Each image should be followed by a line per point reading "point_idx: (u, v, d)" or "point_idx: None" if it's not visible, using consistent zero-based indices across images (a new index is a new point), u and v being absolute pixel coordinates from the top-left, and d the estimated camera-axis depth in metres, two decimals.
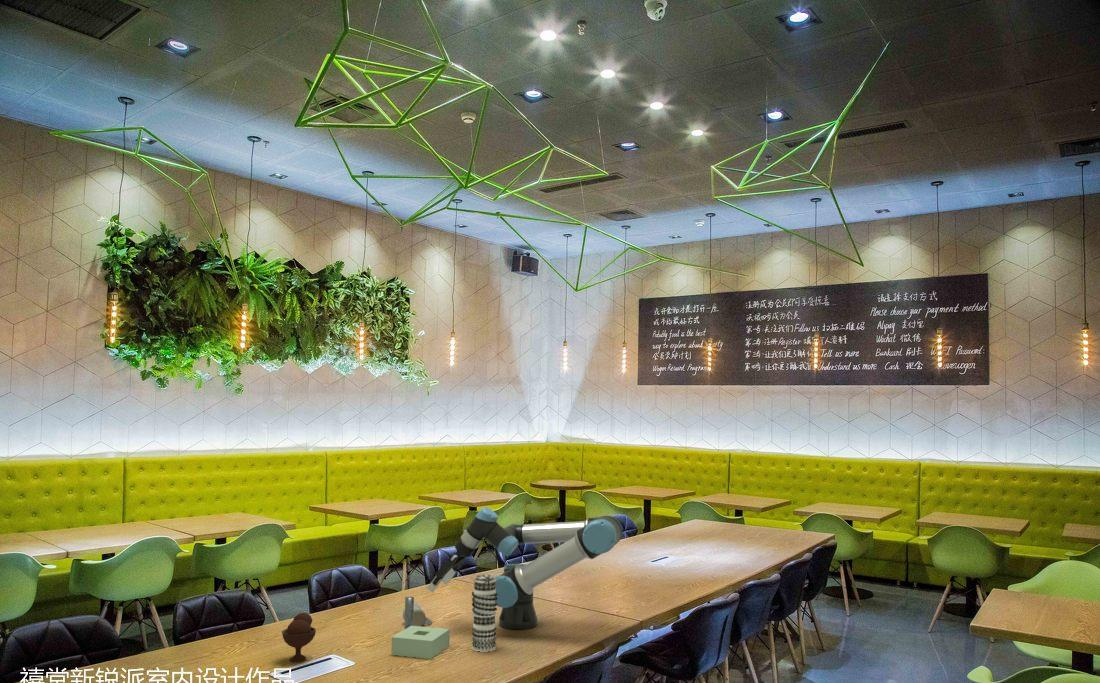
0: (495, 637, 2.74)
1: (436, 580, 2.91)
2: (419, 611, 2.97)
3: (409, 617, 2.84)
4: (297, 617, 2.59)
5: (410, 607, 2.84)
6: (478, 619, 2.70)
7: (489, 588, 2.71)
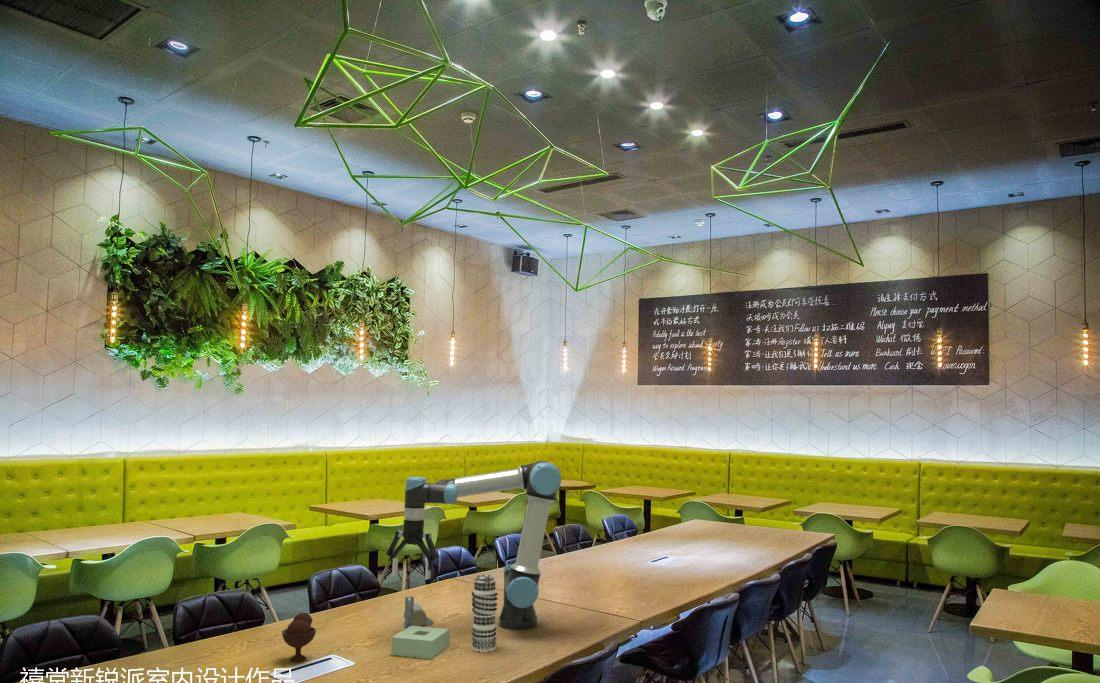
0: (495, 637, 2.74)
1: (432, 564, 2.85)
2: (420, 611, 2.98)
3: (409, 617, 2.84)
4: (297, 617, 2.59)
5: (410, 607, 2.84)
6: (478, 619, 2.70)
7: (489, 588, 2.71)
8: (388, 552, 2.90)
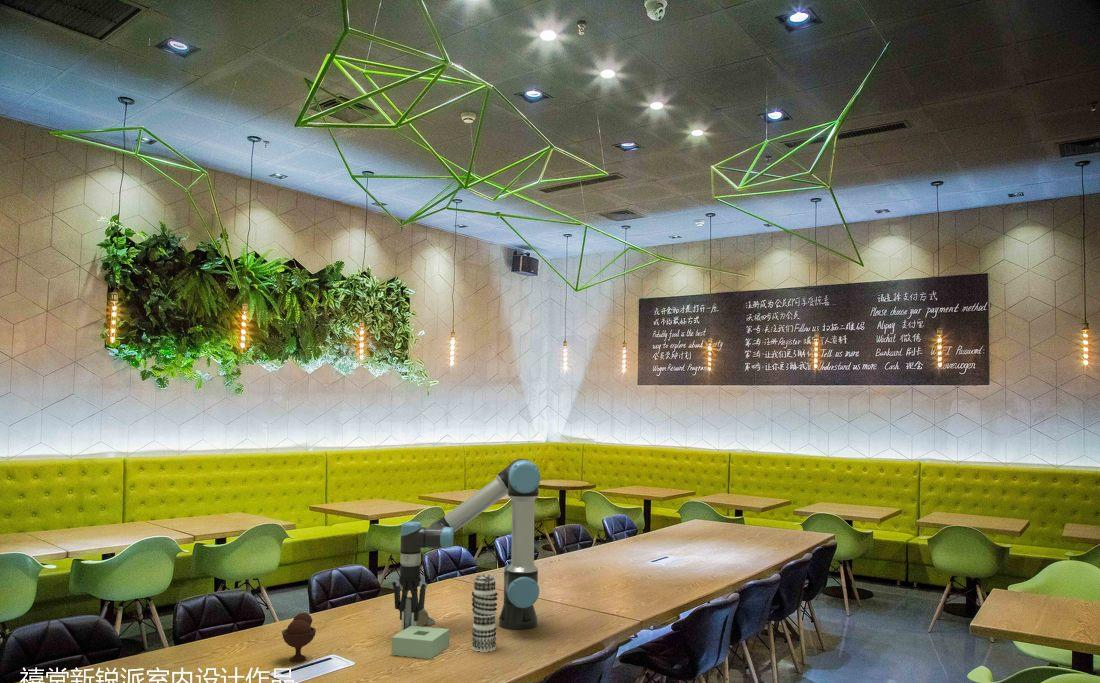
0: (495, 637, 2.74)
1: (418, 615, 2.84)
2: (422, 611, 2.98)
3: (409, 617, 2.84)
4: (297, 617, 2.59)
5: (410, 607, 2.84)
6: (478, 619, 2.70)
7: (489, 588, 2.71)
8: (396, 605, 2.86)
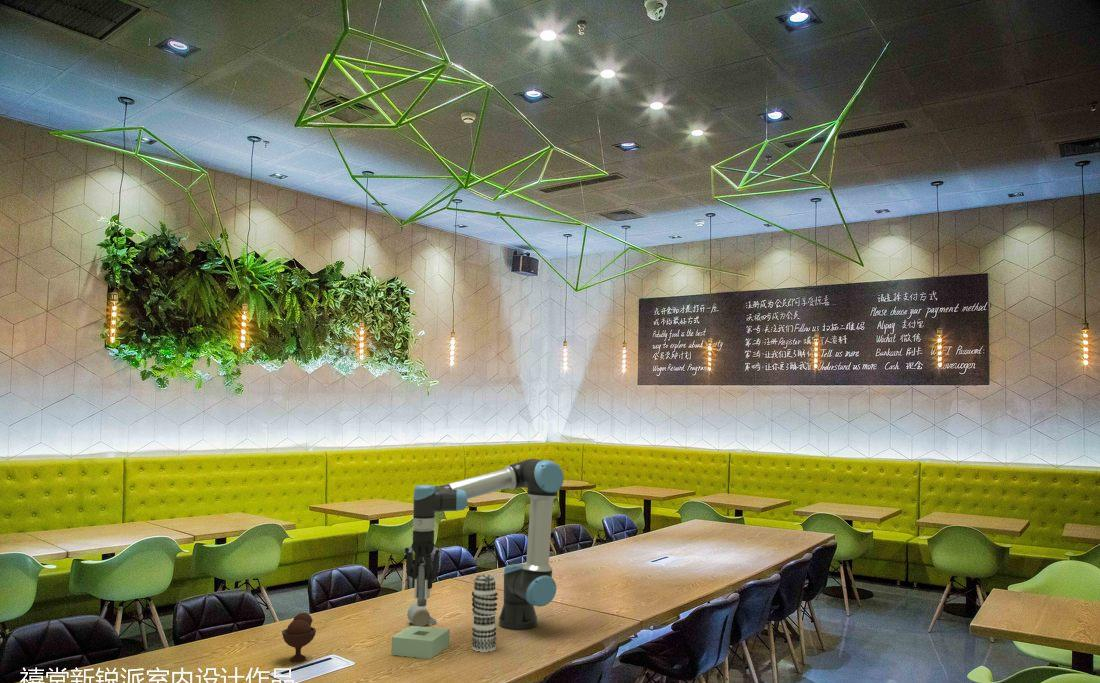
0: (495, 637, 2.74)
1: (431, 582, 2.70)
2: (423, 611, 2.98)
3: (422, 585, 2.70)
4: (297, 617, 2.59)
5: (424, 574, 2.70)
6: (478, 619, 2.70)
7: (489, 588, 2.71)
8: (408, 573, 2.72)
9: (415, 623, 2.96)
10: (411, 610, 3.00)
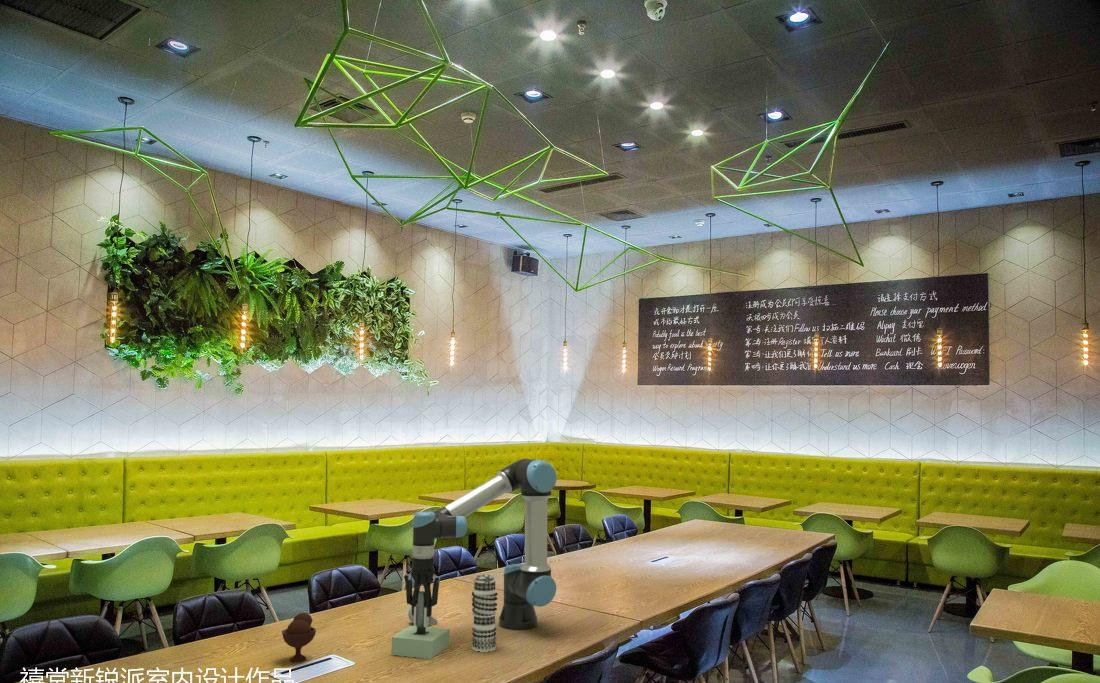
0: (495, 637, 2.74)
1: (431, 610, 2.69)
2: None
3: (422, 613, 2.69)
4: (297, 617, 2.59)
5: (423, 602, 2.69)
6: (478, 619, 2.70)
7: (489, 588, 2.71)
8: (408, 600, 2.71)
9: None
10: None
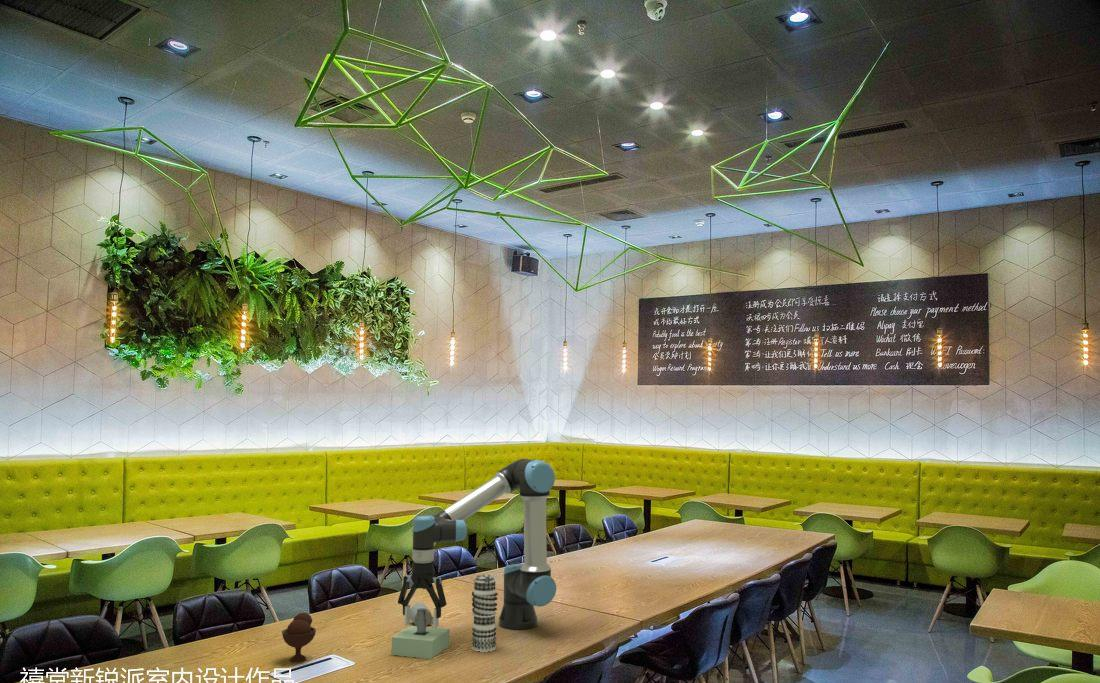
0: (495, 637, 2.74)
1: (440, 611, 2.69)
2: None
3: (422, 630, 2.68)
4: (297, 617, 2.59)
5: (423, 619, 2.69)
6: (478, 619, 2.70)
7: (489, 588, 2.71)
8: (399, 600, 2.71)
9: None
10: (413, 610, 3.01)
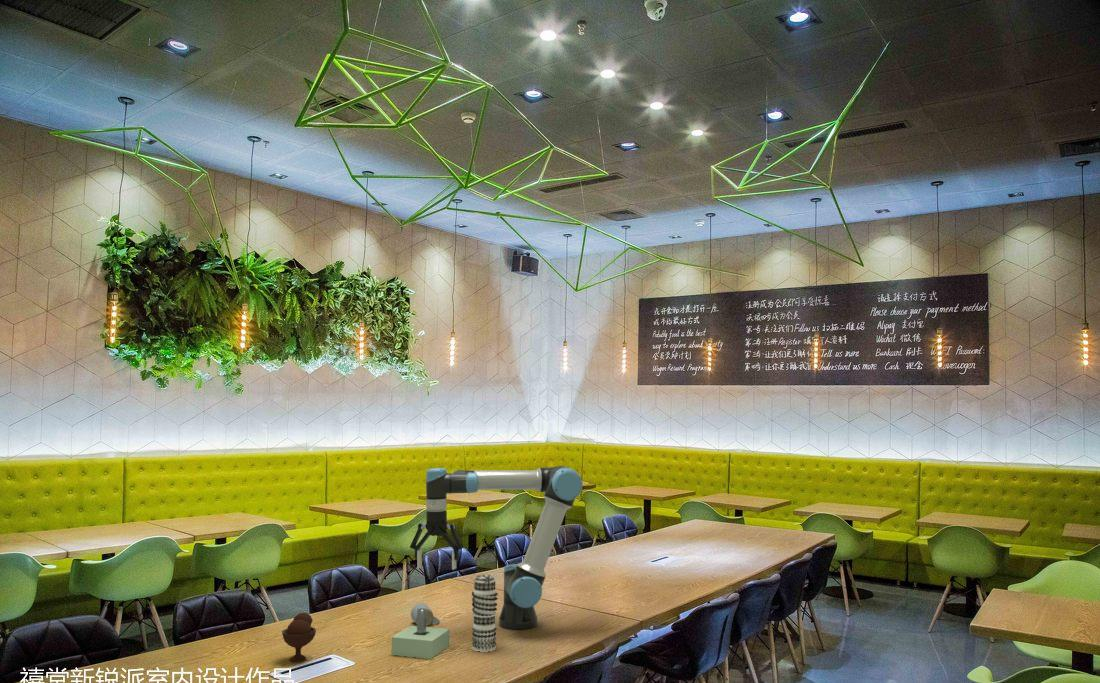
0: (495, 637, 2.74)
1: (458, 554, 2.85)
2: (427, 610, 2.99)
3: (422, 630, 2.68)
4: (297, 617, 2.59)
5: (423, 619, 2.69)
6: (478, 619, 2.70)
7: (489, 588, 2.71)
8: (412, 545, 2.88)
9: None
10: (415, 610, 3.01)
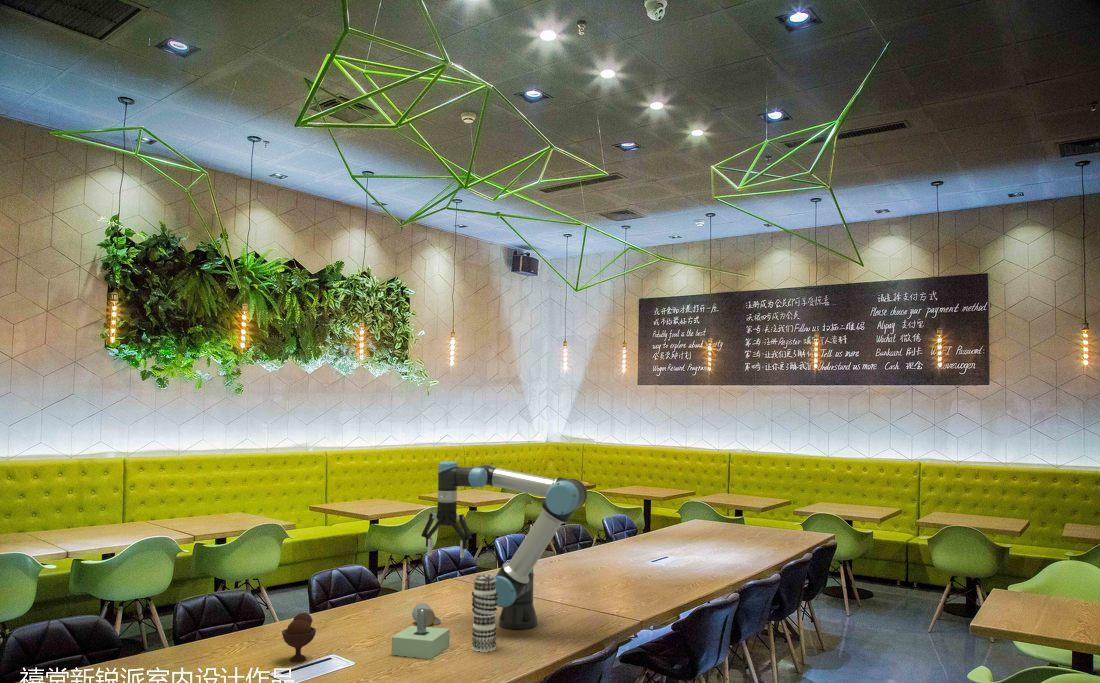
0: (495, 637, 2.74)
1: (466, 543, 3.00)
2: (428, 610, 2.99)
3: (422, 630, 2.68)
4: (297, 617, 2.59)
5: (423, 619, 2.69)
6: (478, 619, 2.70)
7: (489, 588, 2.71)
8: (423, 533, 3.03)
9: None
10: (416, 610, 3.01)
